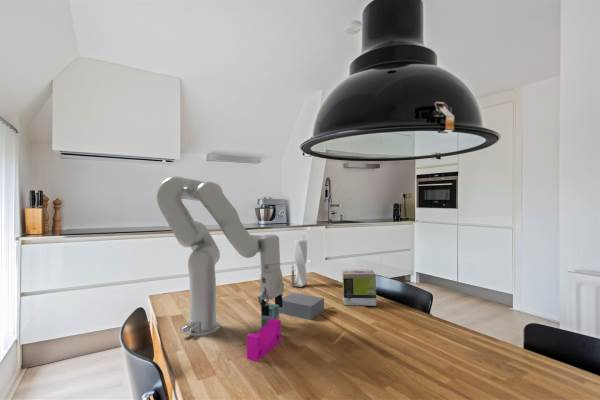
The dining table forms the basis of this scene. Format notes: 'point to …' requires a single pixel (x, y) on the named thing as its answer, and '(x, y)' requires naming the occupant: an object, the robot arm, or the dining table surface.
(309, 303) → the plinth
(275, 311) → the teal block
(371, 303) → the tea box
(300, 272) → the skyscraper
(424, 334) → the dining table surface
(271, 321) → the toy block
